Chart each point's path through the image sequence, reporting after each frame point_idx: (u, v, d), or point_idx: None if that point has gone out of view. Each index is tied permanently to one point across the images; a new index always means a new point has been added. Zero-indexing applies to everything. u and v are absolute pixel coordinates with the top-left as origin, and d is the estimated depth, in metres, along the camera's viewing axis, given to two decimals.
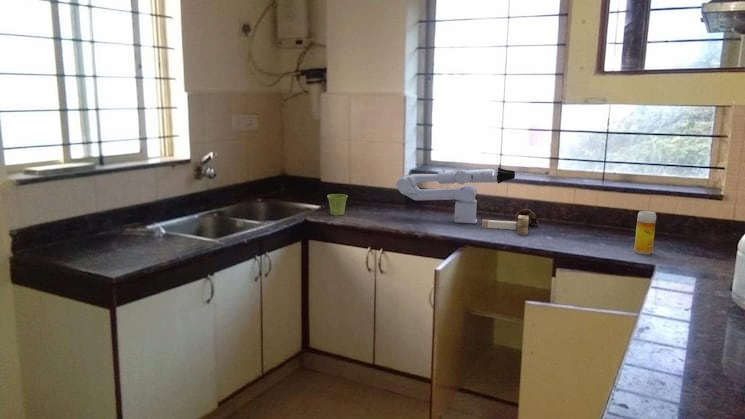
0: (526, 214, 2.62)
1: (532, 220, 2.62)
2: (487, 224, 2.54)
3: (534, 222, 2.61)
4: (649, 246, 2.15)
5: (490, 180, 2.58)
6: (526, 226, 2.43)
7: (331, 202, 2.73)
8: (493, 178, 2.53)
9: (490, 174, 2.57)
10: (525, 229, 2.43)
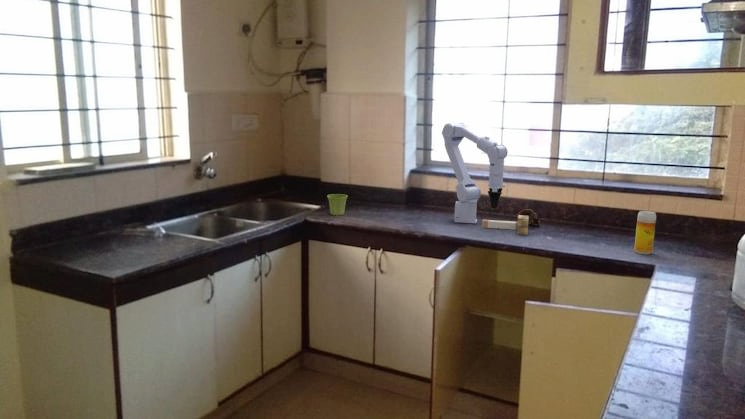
0: (528, 214, 2.62)
1: (534, 220, 2.61)
2: (487, 224, 2.54)
3: (536, 222, 2.61)
4: (649, 246, 2.15)
5: (491, 183, 2.50)
6: (526, 226, 2.43)
7: (331, 202, 2.73)
8: (494, 188, 2.45)
9: (497, 183, 2.49)
10: (525, 229, 2.43)
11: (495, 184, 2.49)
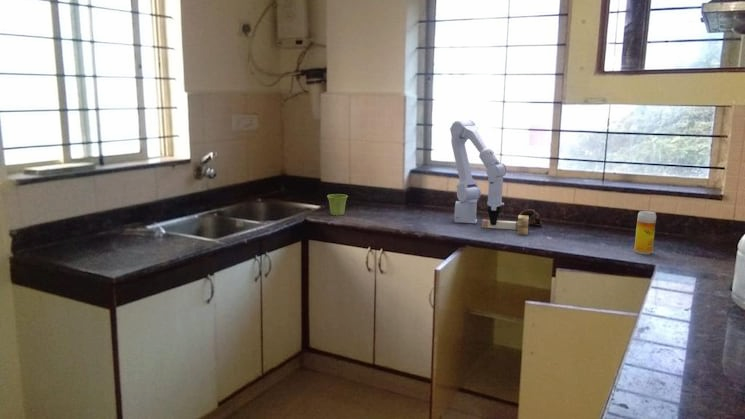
0: (530, 214, 2.61)
1: (536, 220, 2.61)
2: (487, 224, 2.54)
3: (538, 222, 2.61)
4: (649, 246, 2.15)
5: (490, 201, 2.52)
6: (526, 226, 2.43)
7: (331, 202, 2.73)
8: (493, 207, 2.47)
9: (496, 201, 2.50)
10: (525, 229, 2.43)
11: (494, 202, 2.51)
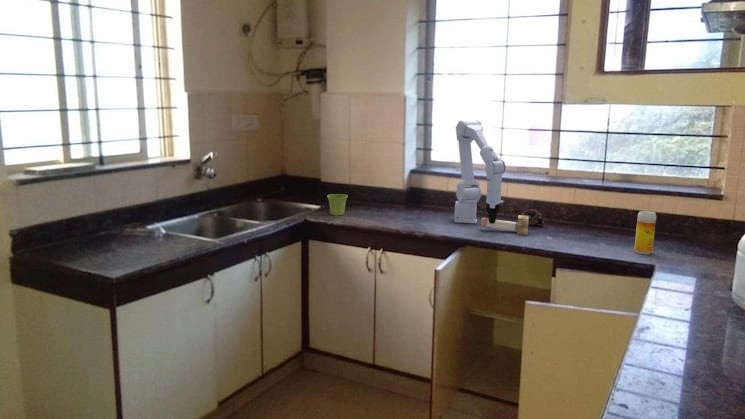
0: (532, 214, 2.61)
1: (538, 220, 2.61)
2: (486, 223, 2.48)
3: (540, 222, 2.61)
4: (649, 246, 2.15)
5: (488, 198, 2.46)
6: (526, 226, 2.43)
7: (331, 202, 2.73)
8: (491, 204, 2.41)
9: (495, 199, 2.44)
10: (525, 229, 2.43)
11: (493, 200, 2.45)
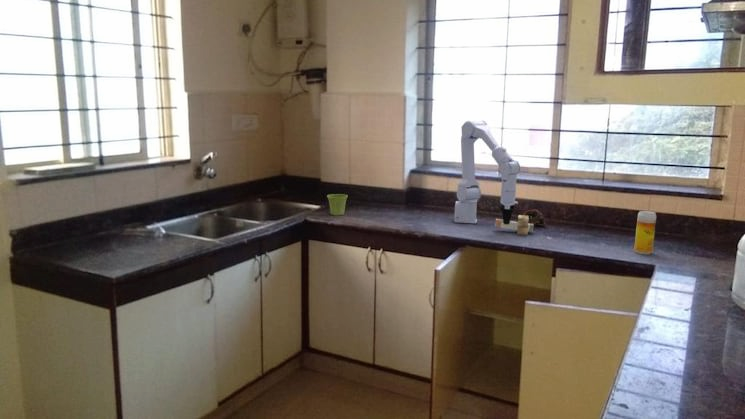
0: (533, 214, 2.61)
1: (539, 220, 2.61)
2: (500, 224, 2.47)
3: (541, 222, 2.60)
4: (649, 246, 2.15)
5: (503, 199, 2.44)
6: (526, 226, 2.43)
7: (331, 202, 2.73)
8: (506, 205, 2.39)
9: (509, 200, 2.43)
10: (525, 229, 2.43)
11: (507, 201, 2.43)
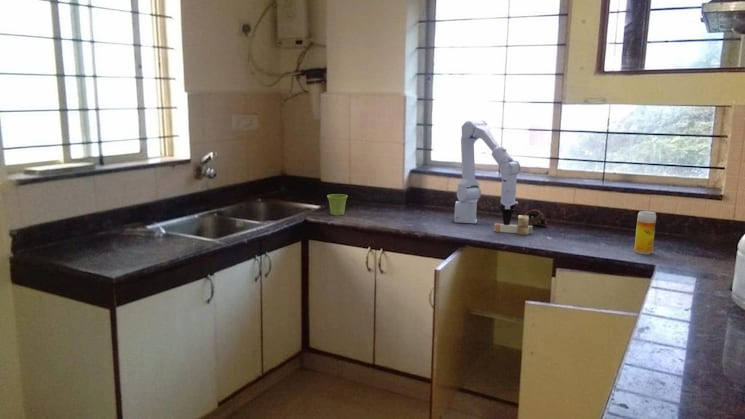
0: (534, 215, 2.61)
1: (540, 221, 2.61)
2: (499, 228, 2.47)
3: (542, 223, 2.60)
4: (649, 246, 2.15)
5: (503, 199, 2.44)
6: (526, 226, 2.43)
7: (331, 202, 2.73)
8: (506, 205, 2.39)
9: (510, 200, 2.43)
10: (525, 229, 2.43)
11: (508, 201, 2.43)
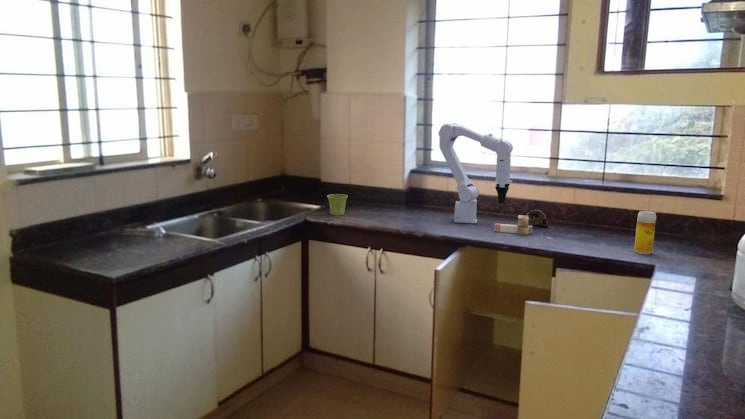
0: (536, 215, 2.61)
1: (542, 221, 2.61)
2: (499, 228, 2.47)
3: (544, 223, 2.60)
4: (649, 246, 2.15)
5: (498, 178, 2.53)
6: (526, 226, 2.43)
7: (331, 202, 2.73)
8: (501, 184, 2.48)
9: (504, 179, 2.52)
10: (525, 229, 2.43)
11: (502, 179, 2.52)
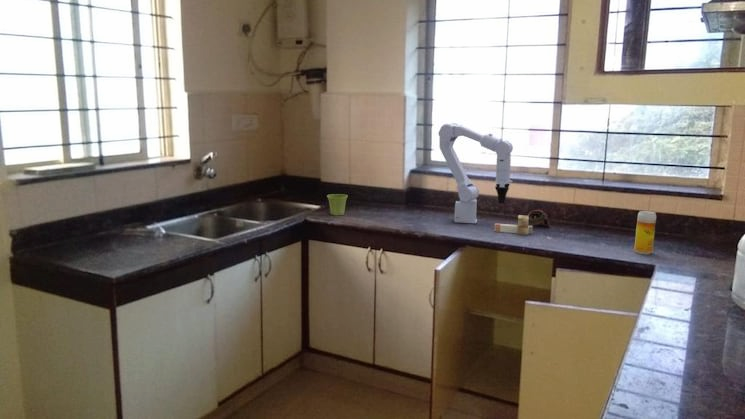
0: (537, 215, 2.61)
1: (543, 221, 2.60)
2: (499, 228, 2.47)
3: (545, 223, 2.60)
4: (649, 246, 2.15)
5: (498, 178, 2.53)
6: (526, 226, 2.43)
7: (331, 202, 2.73)
8: (501, 184, 2.48)
9: (504, 179, 2.52)
10: (525, 229, 2.43)
11: (502, 179, 2.52)
